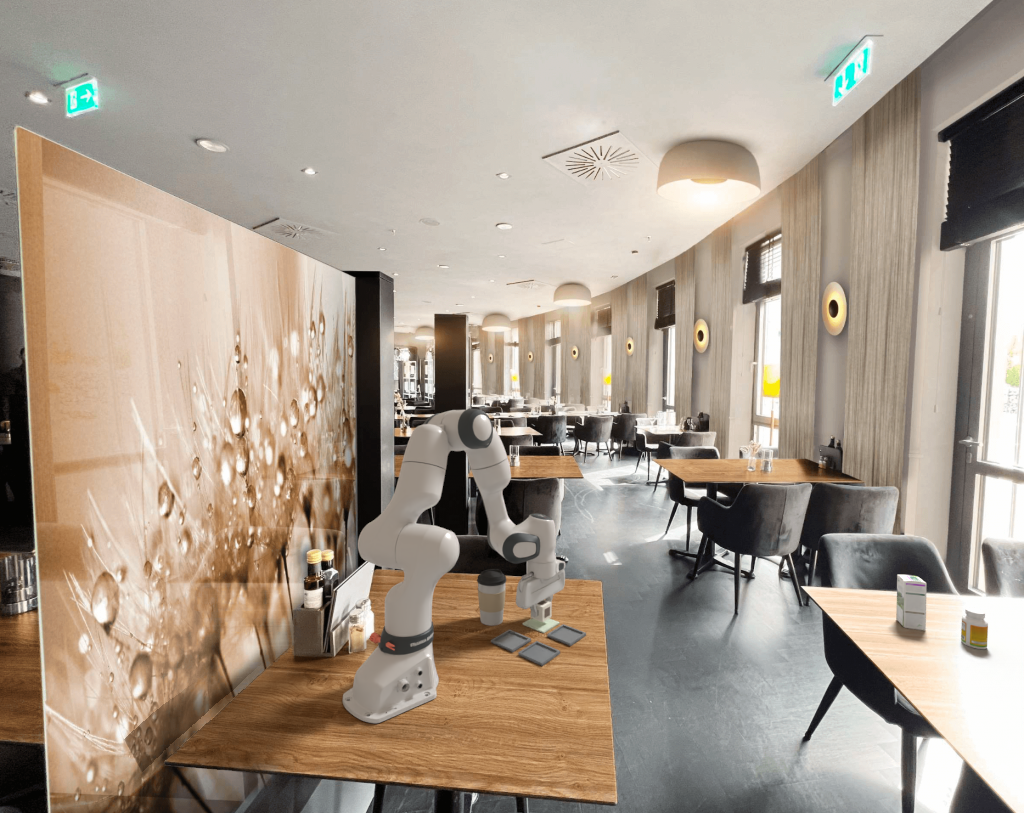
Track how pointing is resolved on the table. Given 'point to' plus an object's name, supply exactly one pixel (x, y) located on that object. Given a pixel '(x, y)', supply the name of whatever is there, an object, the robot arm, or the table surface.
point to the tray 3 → (566, 635)
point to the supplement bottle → (974, 629)
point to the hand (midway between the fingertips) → (540, 612)
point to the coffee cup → (491, 596)
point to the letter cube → (543, 610)
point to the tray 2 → (539, 653)
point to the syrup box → (911, 602)
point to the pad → (541, 624)
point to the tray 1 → (511, 640)
